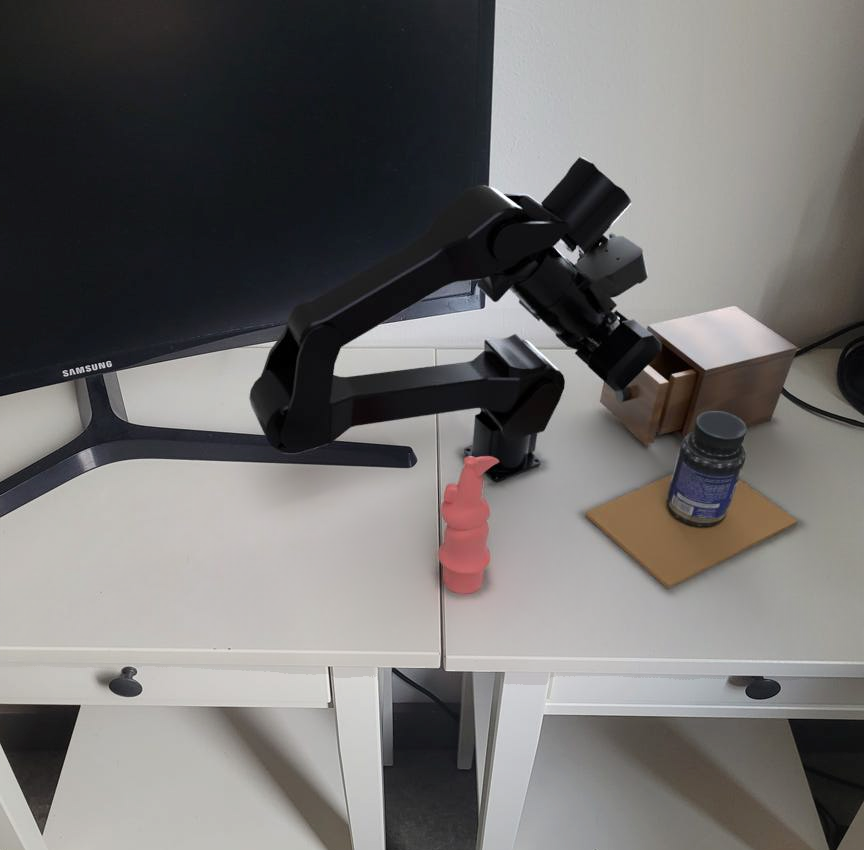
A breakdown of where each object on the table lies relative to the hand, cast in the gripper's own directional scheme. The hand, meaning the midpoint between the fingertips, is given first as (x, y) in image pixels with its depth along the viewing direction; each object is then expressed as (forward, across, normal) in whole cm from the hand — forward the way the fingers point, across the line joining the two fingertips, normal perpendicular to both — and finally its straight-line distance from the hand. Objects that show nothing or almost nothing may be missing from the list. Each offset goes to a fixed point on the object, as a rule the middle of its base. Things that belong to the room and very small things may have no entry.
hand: (622, 359), depth 90 cm
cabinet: (+16, 0, -2) cm, 17 cm away
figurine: (-11, -15, +26) cm, 32 cm away
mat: (+7, -16, +7) cm, 19 cm away
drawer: (+11, 0, +1) cm, 11 cm away
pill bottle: (+7, -16, +6) cm, 18 cm away
